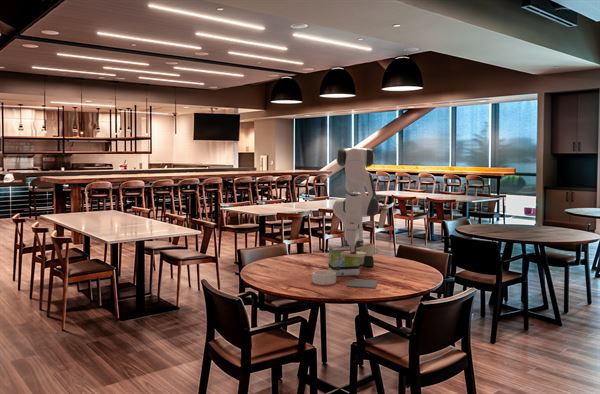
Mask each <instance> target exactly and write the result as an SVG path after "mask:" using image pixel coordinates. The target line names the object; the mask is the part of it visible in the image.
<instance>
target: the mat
mask: <svg viewBox="0 0 600 394" xmlns="http://www.w3.org/2000/svg"><path fill="white" fill-rule="evenodd" d="M378 282H379V281H378V280H375V279H374V280H371V279H359V278H358V279H357V278H350V280H349V282H348V283H347V285H346V287H348V288H358V289H359V288H361V289H362V288H364V289H376V288H377V286H378Z"/></svg>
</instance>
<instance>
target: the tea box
mask: <svg viewBox="0 0 600 394" xmlns="http://www.w3.org/2000/svg"><path fill="white" fill-rule="evenodd" d="M344 251H350V246H347V247H344V246H329V247H328V269H327V270H331V271H335V272H336V277H338V276H339V277H340V276H341V277H342V276H359V275H360V270H361V269H360V267H361V266H360V257H357V258H353V257H344V256H341V255H340V254H341V252H344ZM357 251H360V249H358V248H357Z"/></svg>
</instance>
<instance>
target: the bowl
mask: <svg viewBox="0 0 600 394" xmlns="http://www.w3.org/2000/svg"><path fill="white" fill-rule="evenodd" d="M311 277H312V278H311V281H312V283H314V284H315V285H323V286H325V285H327V286H328V285H334V284H336V283H337V276H336V272H335V271H331V270H328V269H319V270H318V269H317V270H313V271H312V272H311Z"/></svg>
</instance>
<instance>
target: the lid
mask: <svg viewBox="0 0 600 394" xmlns="http://www.w3.org/2000/svg"><path fill="white" fill-rule="evenodd" d="M354 248H355V251H354V252H351V247H350V251H344V252H341V254H340V255H341V256H344V257H353V258H357V257H364V256H366V253H365V252H360V251H357V246H356V245H355V247H354Z"/></svg>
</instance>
